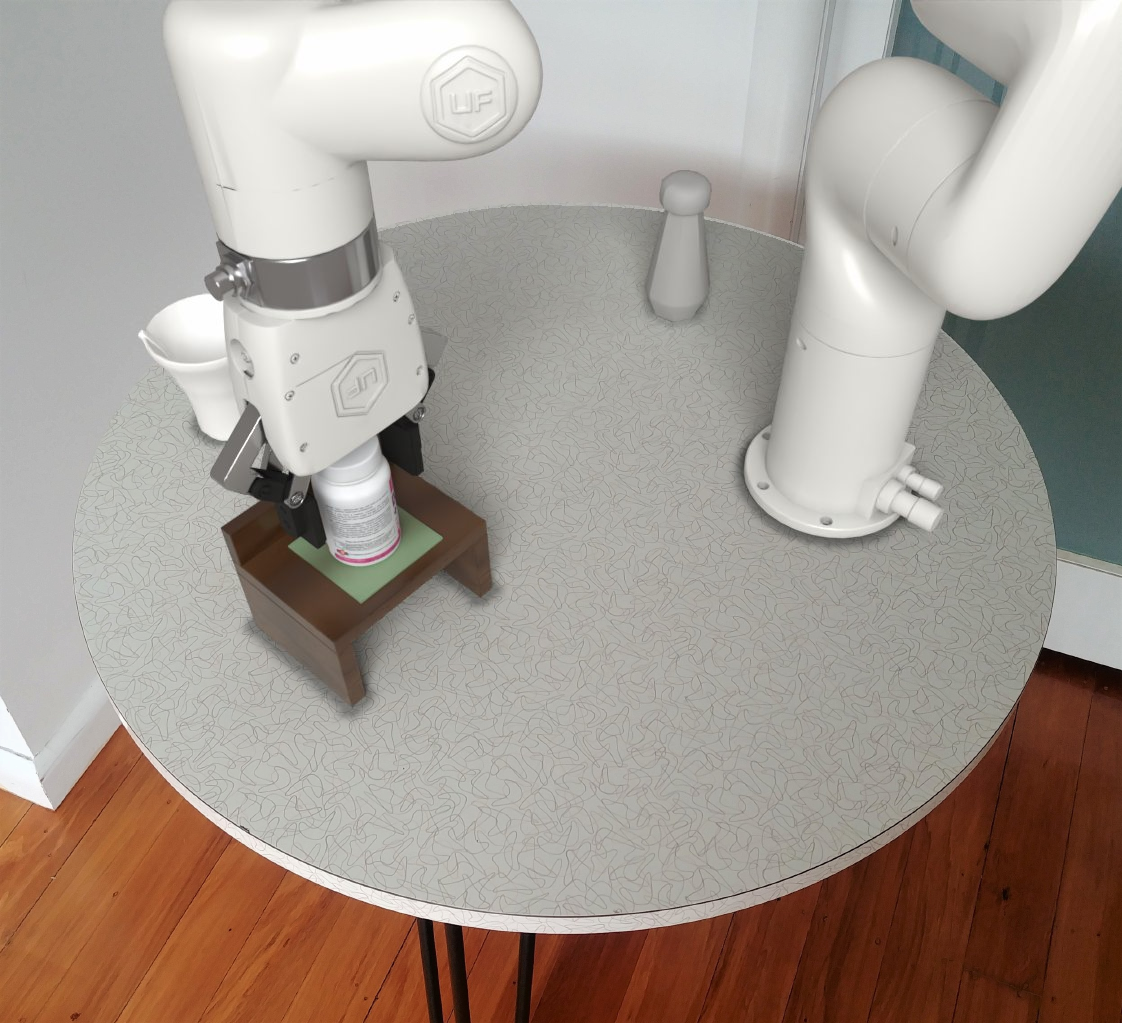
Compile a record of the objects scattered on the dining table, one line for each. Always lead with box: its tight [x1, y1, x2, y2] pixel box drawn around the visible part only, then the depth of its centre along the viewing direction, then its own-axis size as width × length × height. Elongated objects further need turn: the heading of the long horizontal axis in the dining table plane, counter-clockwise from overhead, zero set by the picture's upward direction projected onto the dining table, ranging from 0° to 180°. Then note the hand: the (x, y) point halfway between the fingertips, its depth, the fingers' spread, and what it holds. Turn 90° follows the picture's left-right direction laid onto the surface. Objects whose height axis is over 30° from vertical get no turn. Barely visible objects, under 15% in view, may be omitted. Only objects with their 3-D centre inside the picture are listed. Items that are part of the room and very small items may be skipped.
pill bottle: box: [311, 435, 401, 566], centre depth 65 cm, size 5×5×8 cm
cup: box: [137, 292, 240, 442], centre depth 83 cm, size 9×9×10 cm
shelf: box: [220, 433, 493, 707], centre depth 70 cm, size 10×13×10 cm
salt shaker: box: [644, 169, 713, 323], centre depth 92 cm, size 6×6×13 cm
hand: (356, 497), depth 65 cm, fingers open, 7 cm apart
